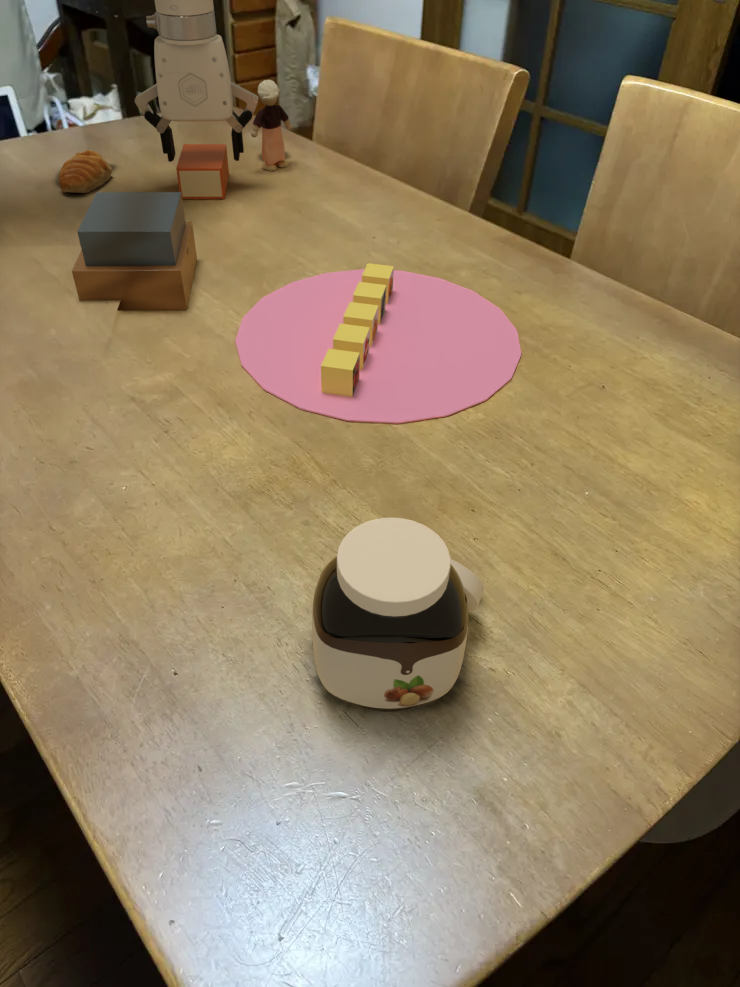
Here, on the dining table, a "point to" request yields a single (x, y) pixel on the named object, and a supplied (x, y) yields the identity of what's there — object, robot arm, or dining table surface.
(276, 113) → the grandmother figurine
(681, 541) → the dining table surface
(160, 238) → the box stack
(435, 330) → the platter
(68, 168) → the pastry
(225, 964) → the dining table surface
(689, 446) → the dining table surface
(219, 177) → the orange box
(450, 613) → the spread jar
